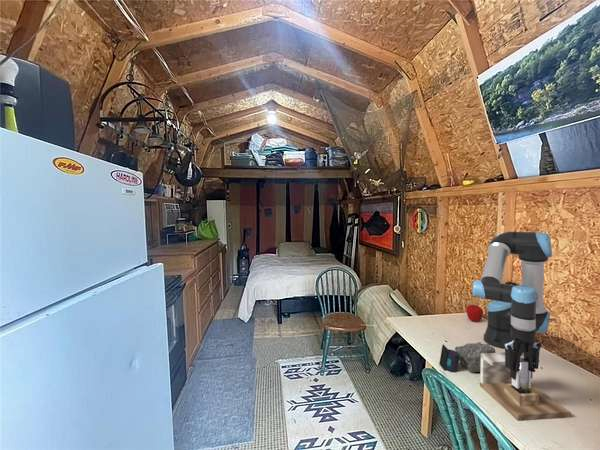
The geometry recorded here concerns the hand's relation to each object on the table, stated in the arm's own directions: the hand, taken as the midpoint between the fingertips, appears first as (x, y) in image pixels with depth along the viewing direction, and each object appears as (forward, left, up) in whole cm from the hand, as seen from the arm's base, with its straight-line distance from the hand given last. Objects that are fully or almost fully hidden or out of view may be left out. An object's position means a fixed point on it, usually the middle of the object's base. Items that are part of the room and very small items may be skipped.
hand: (521, 385), depth 111 cm
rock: (0, -27, -8) cm, 28 cm away
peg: (0, 0, -4) cm, 4 cm away
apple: (-35, -78, -8) cm, 86 cm away
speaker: (+13, -26, -8) cm, 30 cm away
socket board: (-2, -2, -7) cm, 8 cm away
